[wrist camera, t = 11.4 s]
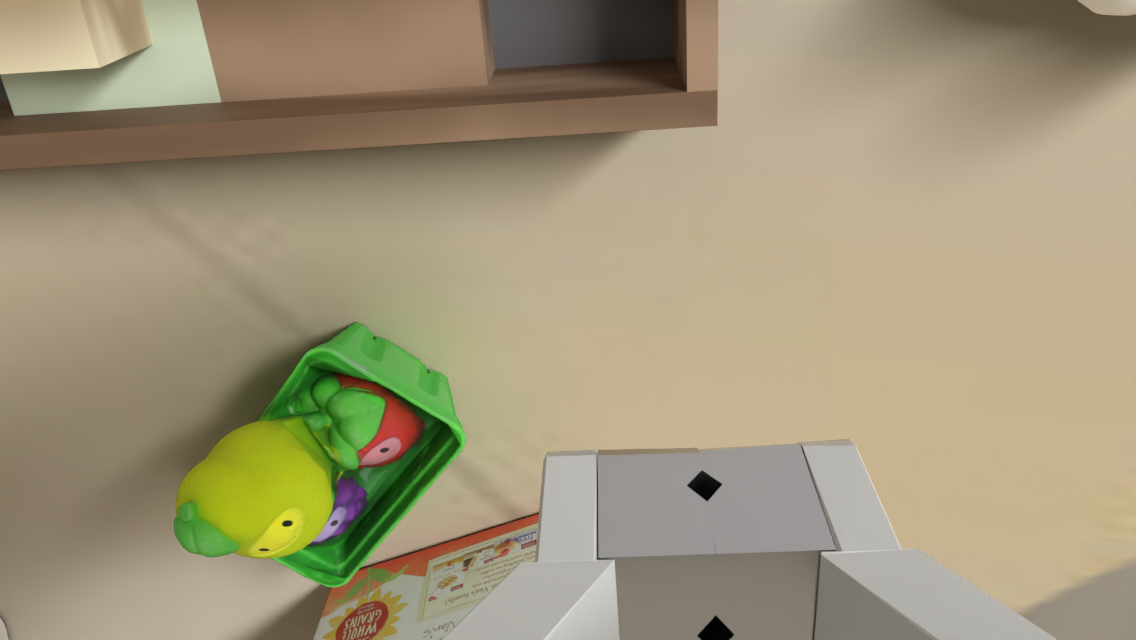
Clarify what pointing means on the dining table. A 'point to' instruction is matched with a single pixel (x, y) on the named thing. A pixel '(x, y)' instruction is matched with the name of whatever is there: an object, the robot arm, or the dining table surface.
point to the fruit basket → (325, 461)
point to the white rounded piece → (1111, 6)
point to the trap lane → (368, 78)
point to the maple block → (69, 33)
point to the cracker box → (426, 587)
